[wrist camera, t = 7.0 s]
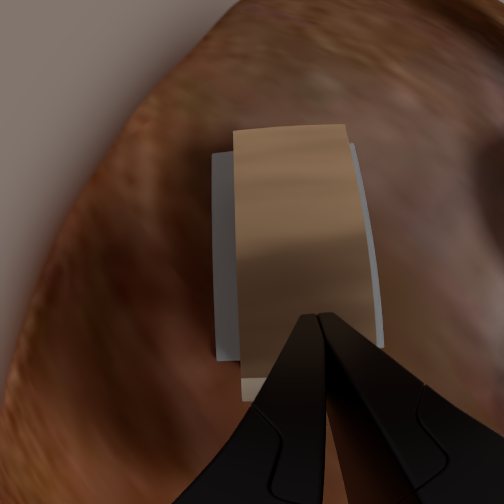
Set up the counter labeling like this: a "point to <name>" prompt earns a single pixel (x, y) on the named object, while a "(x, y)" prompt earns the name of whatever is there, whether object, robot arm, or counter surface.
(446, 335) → the counter surface
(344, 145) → the block
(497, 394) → the counter surface
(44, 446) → the counter surface
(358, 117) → the counter surface
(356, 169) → the mat
